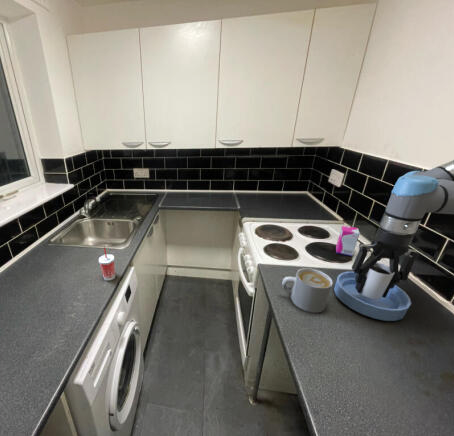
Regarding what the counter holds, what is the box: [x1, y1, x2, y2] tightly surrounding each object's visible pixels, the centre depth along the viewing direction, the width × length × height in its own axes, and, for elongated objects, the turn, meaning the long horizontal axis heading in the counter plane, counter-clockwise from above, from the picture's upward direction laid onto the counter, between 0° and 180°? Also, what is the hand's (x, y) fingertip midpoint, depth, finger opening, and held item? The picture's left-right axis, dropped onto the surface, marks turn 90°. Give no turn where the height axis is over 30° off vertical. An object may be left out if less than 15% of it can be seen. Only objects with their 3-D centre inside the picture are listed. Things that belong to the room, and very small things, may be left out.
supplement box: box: [335, 225, 361, 257], centre depth 101 cm, size 6×6×12 cm
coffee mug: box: [281, 267, 334, 314], centre depth 76 cm, size 13×10×10 cm
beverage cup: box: [98, 247, 116, 282], centre depth 91 cm, size 6×6×14 cm
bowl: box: [333, 271, 412, 322], centre depth 76 cm, size 18×18×5 cm
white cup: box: [361, 261, 395, 299], centre depth 73 cm, size 7×7×10 cm
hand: (369, 292), depth 75 cm, fingers closed on white cup, 6 cm apart
